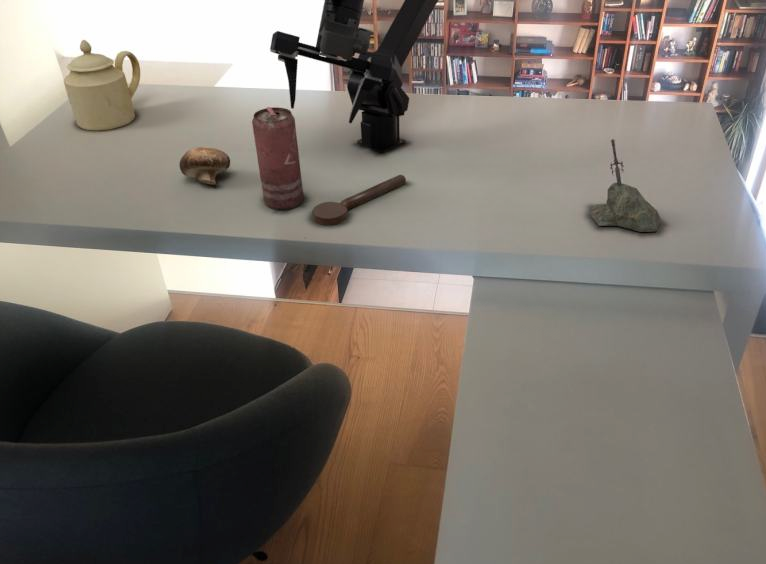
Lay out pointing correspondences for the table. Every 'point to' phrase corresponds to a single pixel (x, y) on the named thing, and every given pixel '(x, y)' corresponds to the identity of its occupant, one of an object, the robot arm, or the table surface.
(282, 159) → the can
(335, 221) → the wooden spoon
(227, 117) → the table surface
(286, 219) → the table surface
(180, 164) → the mushroom
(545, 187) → the table surface
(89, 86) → the beige ceramic pot
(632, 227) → the sword in stone
